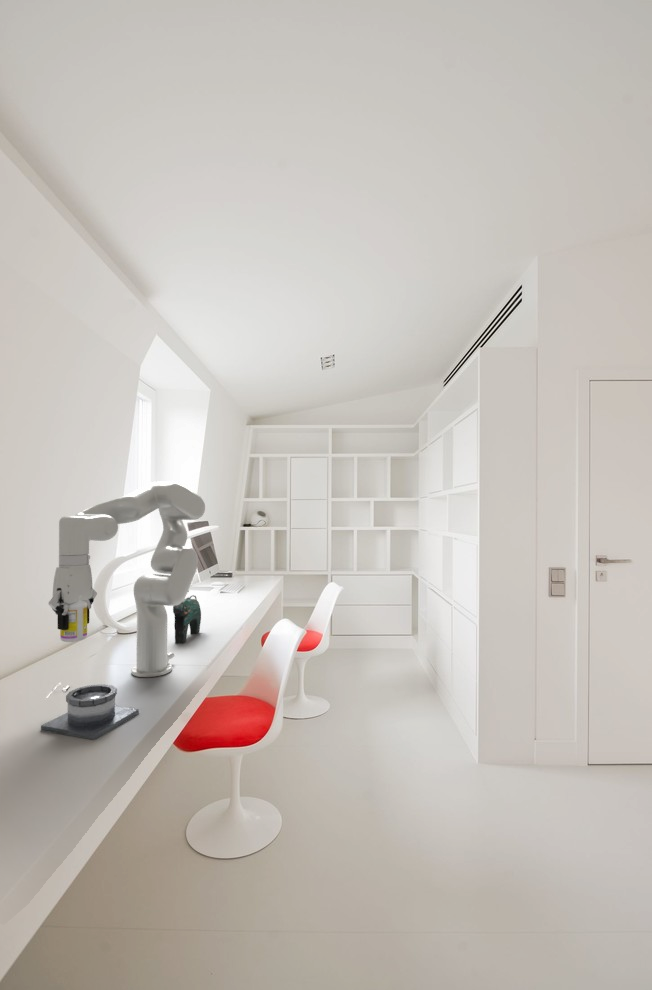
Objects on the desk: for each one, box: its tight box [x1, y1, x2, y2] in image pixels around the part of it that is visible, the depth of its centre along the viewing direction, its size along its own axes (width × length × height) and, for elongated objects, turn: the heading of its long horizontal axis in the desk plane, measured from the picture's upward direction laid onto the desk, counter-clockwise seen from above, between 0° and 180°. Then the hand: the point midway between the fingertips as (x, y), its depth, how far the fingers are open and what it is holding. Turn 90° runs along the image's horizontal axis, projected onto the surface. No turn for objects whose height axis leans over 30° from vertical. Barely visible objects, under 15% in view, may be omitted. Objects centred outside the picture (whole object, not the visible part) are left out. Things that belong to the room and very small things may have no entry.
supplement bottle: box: [59, 595, 88, 643], centre depth 145 cm, size 7×7×13 cm
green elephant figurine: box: [172, 590, 202, 645], centre depth 215 cm, size 20×6×20 cm, turn 171°
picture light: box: [45, 682, 71, 699], centre depth 156 cm, size 14×4×2 cm, turn 11°
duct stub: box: [40, 683, 140, 741], centre depth 134 cm, size 16×16×7 cm
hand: (73, 625), depth 145 cm, fingers closed on supplement bottle, 6 cm apart
